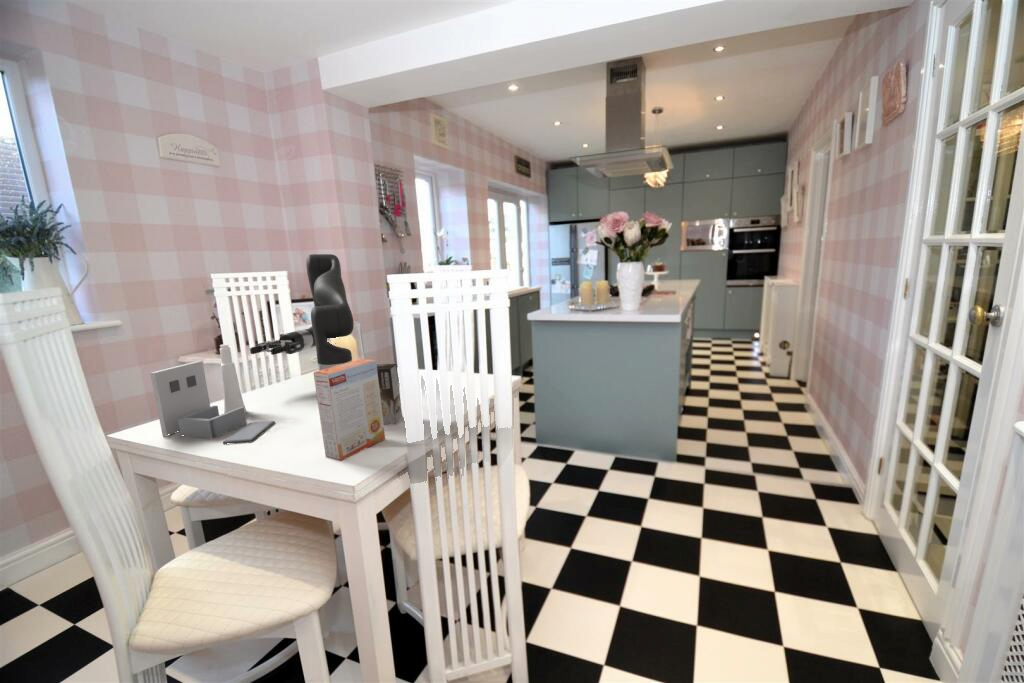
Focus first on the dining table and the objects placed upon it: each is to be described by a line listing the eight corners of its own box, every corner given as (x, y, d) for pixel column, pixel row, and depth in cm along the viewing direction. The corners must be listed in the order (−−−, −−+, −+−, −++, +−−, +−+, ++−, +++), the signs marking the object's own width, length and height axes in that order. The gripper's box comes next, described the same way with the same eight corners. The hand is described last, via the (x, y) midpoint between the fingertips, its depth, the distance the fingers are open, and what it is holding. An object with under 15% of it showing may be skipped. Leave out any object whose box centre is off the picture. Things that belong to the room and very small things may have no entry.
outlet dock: (252, 421, 133) (242, 361, 130) (209, 439, 120) (197, 374, 117) (208, 418, 138) (198, 360, 134) (162, 435, 124) (150, 372, 121)
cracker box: (369, 435, 118) (361, 357, 114) (386, 439, 114) (378, 359, 111) (323, 457, 106) (312, 370, 102) (340, 461, 103) (329, 373, 99)
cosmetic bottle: (249, 409, 144) (239, 342, 140) (241, 415, 138) (230, 345, 134) (229, 411, 144) (218, 343, 140) (220, 417, 138) (208, 347, 134)
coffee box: (403, 416, 131) (398, 363, 128) (397, 424, 125) (391, 368, 122) (372, 417, 131) (366, 364, 128) (364, 425, 125) (358, 369, 122)
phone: (275, 424, 131) (274, 420, 131) (251, 444, 117) (251, 439, 117) (250, 426, 130) (249, 422, 130) (223, 446, 117) (223, 441, 116)
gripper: (279, 331, 165) (242, 340, 150) (311, 331, 162) (277, 340, 146) (281, 351, 167) (245, 361, 152) (314, 352, 163) (280, 363, 148)
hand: (261, 351), depth 149 cm, fingers open, 8 cm apart
